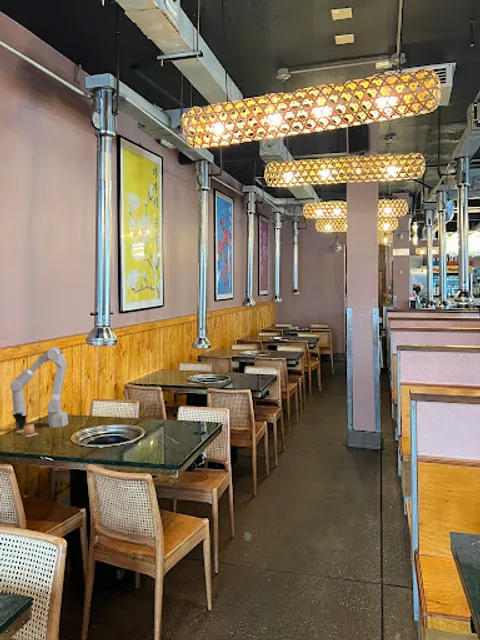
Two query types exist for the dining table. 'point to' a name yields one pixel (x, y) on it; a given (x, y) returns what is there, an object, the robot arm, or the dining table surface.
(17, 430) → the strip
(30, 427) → the tan round lump
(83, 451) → the dining table surface
